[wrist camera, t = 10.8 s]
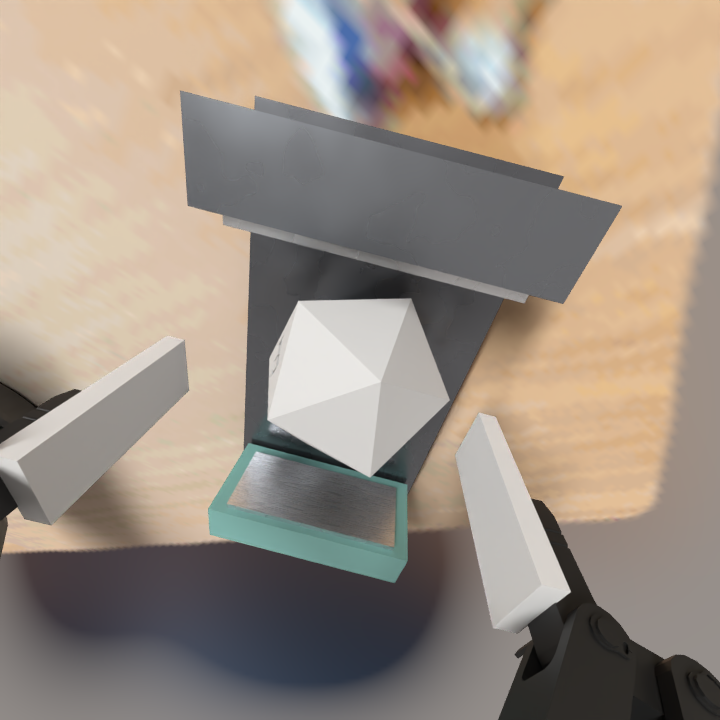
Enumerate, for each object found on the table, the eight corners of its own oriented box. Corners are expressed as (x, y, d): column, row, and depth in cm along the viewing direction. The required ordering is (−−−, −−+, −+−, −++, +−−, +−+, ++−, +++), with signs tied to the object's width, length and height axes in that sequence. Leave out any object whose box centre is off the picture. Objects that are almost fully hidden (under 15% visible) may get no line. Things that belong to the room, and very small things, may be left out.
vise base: (250, 461, 28) (203, 544, 21) (268, 103, 15) (158, 37, 8) (397, 499, 28) (395, 594, 21) (549, 177, 15) (665, 169, 8)
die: (409, 244, 16) (233, 267, 10) (511, 380, 14) (376, 506, 8) (343, 328, 22) (210, 375, 16) (410, 430, 21) (290, 523, 15)
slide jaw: (247, 467, 25) (209, 534, 21) (248, 439, 24) (207, 505, 19) (396, 506, 25) (394, 583, 21) (408, 481, 24) (409, 558, 19)
